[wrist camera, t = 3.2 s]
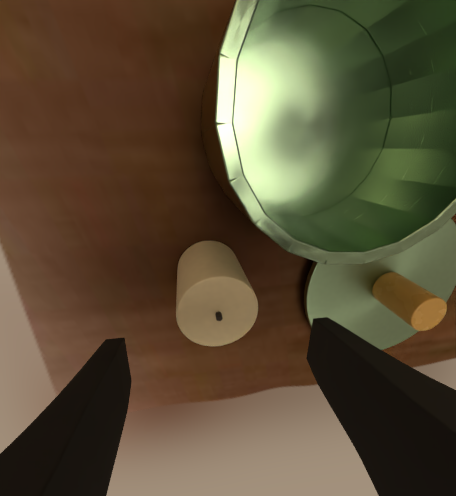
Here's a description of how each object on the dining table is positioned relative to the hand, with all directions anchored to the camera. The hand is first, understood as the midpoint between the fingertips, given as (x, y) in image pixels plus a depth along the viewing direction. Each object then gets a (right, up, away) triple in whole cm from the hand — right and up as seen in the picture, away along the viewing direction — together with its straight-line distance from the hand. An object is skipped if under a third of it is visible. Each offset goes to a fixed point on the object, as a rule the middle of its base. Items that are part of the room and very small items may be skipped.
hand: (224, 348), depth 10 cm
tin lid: (+12, +1, +9) cm, 15 cm away
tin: (+4, +11, +5) cm, 13 cm away
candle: (-1, +3, +7) cm, 8 cm away
